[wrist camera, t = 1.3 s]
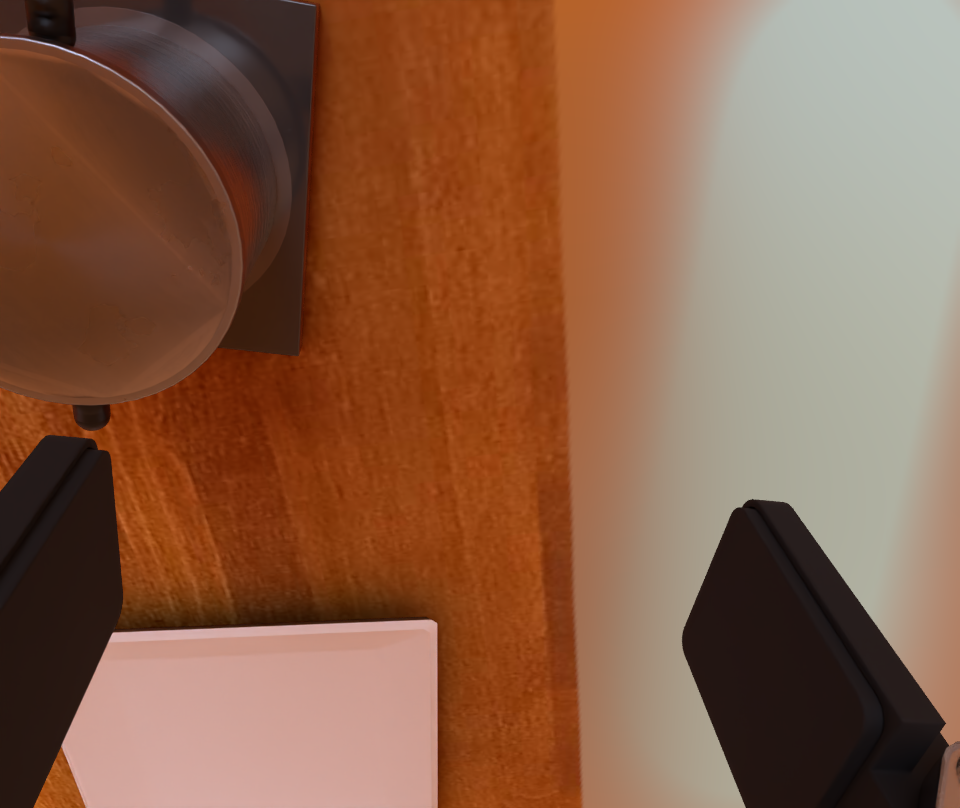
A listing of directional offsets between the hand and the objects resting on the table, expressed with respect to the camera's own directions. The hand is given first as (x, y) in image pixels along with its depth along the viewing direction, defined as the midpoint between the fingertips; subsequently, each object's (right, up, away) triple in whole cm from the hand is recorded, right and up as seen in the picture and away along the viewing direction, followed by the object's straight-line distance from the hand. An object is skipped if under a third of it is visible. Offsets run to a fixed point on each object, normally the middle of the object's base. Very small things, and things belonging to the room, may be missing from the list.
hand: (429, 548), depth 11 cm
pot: (-11, +10, +13) cm, 20 cm away
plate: (-11, -15, +29) cm, 35 cm away
